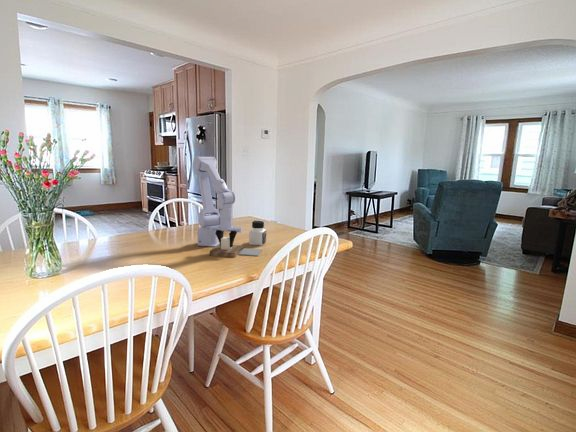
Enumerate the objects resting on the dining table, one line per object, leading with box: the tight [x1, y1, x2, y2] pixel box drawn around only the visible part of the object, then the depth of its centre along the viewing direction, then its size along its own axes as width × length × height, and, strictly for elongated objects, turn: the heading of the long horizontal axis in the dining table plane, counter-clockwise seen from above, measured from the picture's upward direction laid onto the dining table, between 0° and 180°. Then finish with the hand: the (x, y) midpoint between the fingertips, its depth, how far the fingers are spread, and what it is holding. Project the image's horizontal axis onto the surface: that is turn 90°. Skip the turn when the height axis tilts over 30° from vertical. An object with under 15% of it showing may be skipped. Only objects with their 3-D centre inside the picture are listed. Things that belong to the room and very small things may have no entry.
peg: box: [221, 236, 232, 250], centre depth 147 cm, size 4×4×7 cm
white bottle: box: [248, 219, 267, 246], centre depth 163 cm, size 7×7×12 cm
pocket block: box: [209, 243, 243, 258], centre depth 148 cm, size 12×12×2 cm
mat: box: [238, 247, 263, 257], centre depth 149 cm, size 9×9×1 cm
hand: (226, 246), depth 147 cm, fingers closed on peg, 4 cm apart
